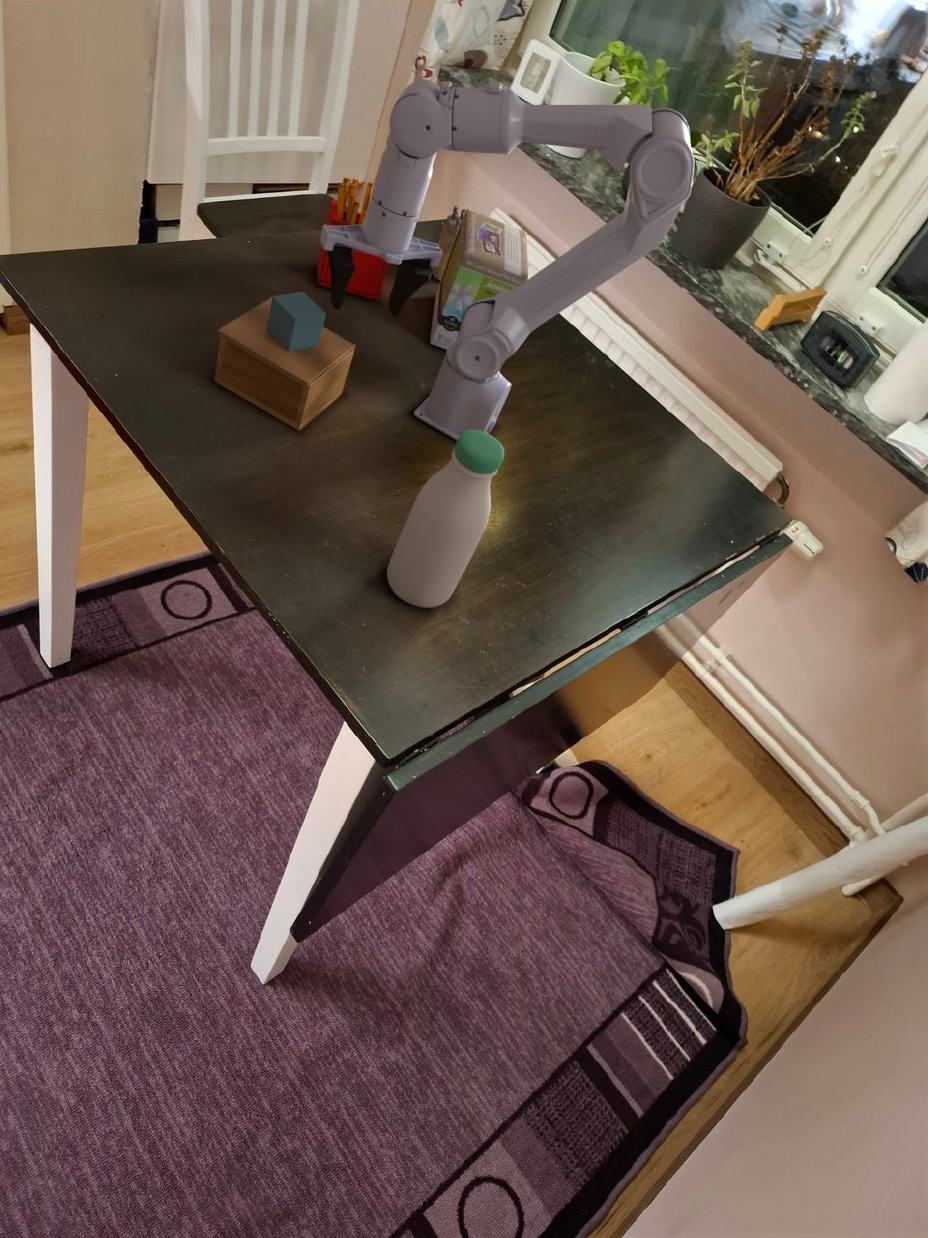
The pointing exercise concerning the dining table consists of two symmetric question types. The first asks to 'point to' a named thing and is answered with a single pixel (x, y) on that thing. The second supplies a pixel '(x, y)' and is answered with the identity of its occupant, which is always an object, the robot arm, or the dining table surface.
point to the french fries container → (367, 265)
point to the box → (278, 385)
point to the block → (295, 321)
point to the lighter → (448, 240)
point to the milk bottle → (446, 523)
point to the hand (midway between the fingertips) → (364, 308)
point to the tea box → (477, 271)
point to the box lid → (294, 364)
